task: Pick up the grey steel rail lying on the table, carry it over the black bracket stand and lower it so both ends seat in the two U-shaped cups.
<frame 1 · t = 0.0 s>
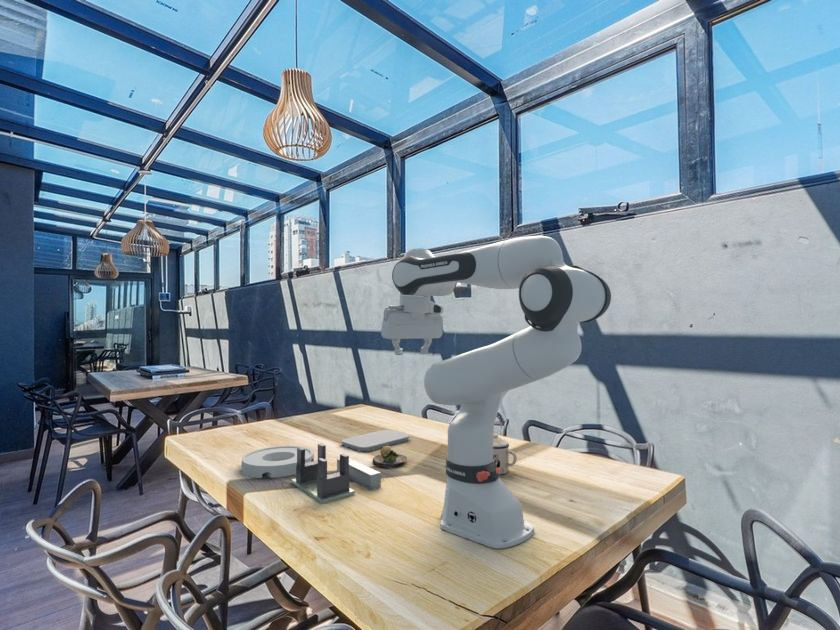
hand: (411, 354, 123), 39 cm above the table, tool pointing down, fingers open, 8 cm apart
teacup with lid: (499, 471, 138), on the table
tablet: (376, 443, 173), on the table
bracket stand: (321, 488, 123), on the table
burger: (389, 464, 147), on the table
ashtray: (278, 467, 144), on the table
rail: (357, 480, 131), on the table
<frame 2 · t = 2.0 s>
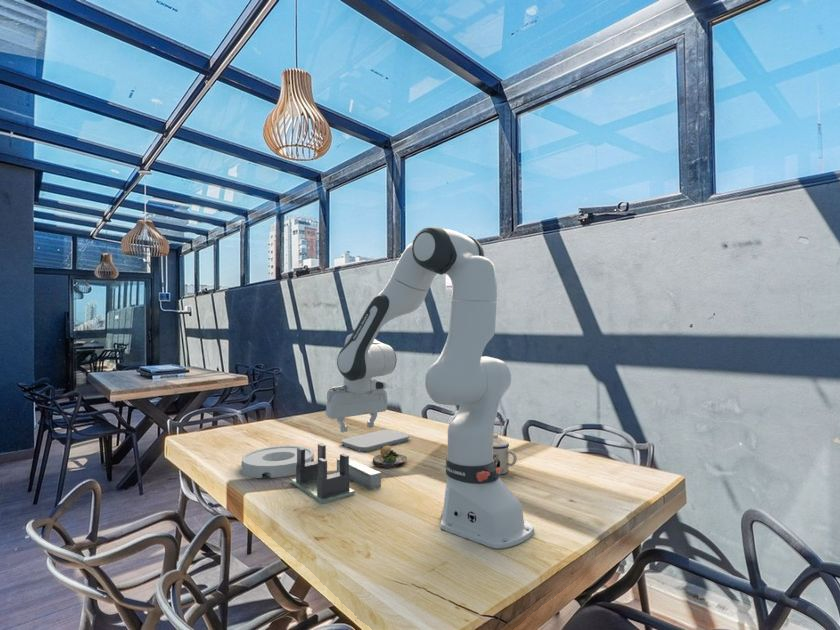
hand: (357, 429, 132), 15 cm above the table, tool pointing down, fingers open, 8 cm apart
nothing on the table moved.
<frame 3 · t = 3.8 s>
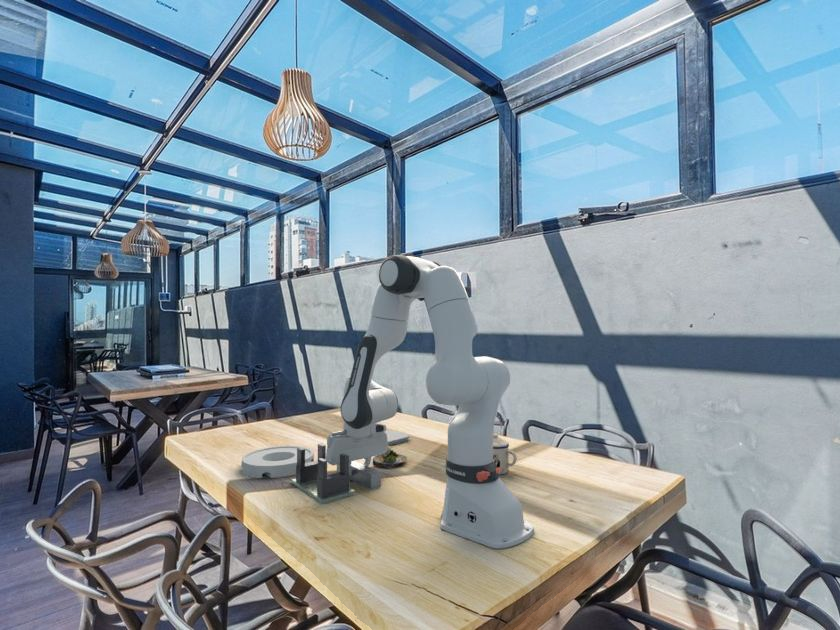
hand: (357, 473, 131), 2 cm above the table, tool pointing down, fingers closed on rail, 3 cm apart
rail: (357, 480, 131), on the table, touching gripper
everything else where it was.
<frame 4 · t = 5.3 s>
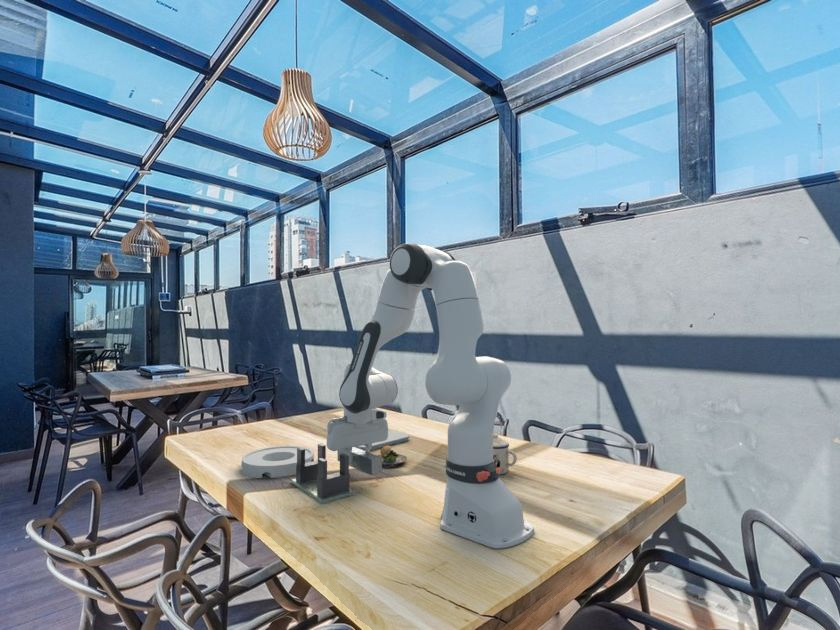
hand: (358, 460, 131), 6 cm above the table, tool pointing down, fingers closed on rail, 3 cm apart
rail: (358, 466, 131), point 4 cm above the table, touching gripper
everything else where it was.
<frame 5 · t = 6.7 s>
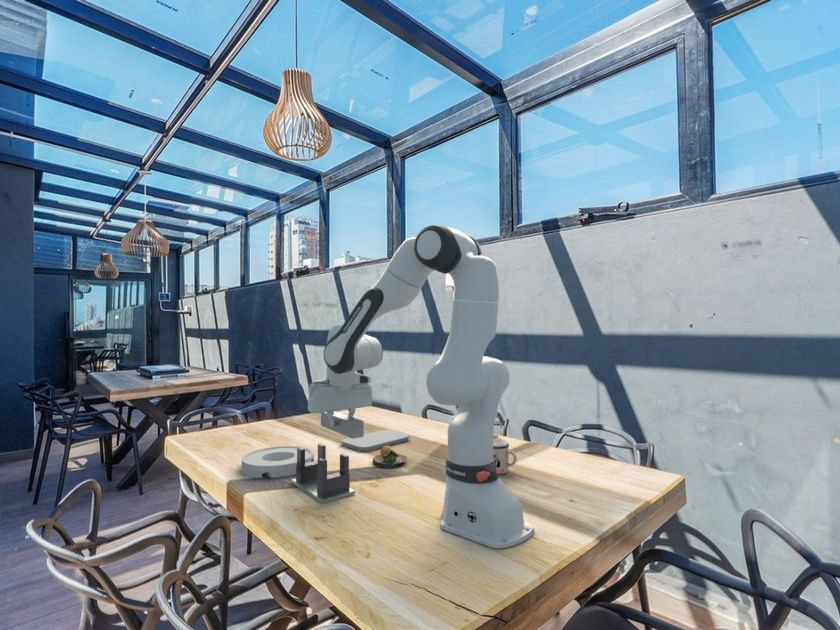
hand: (341, 424, 128), 17 cm above the table, tool pointing down, fingers closed on rail, 3 cm apart
rail: (341, 430, 128), point 15 cm above the table, touching gripper
everything else where it was.
when the fingers open (8 cm above the table, at t = 9.2 s): rail stays where it is, resting on bracket stand.
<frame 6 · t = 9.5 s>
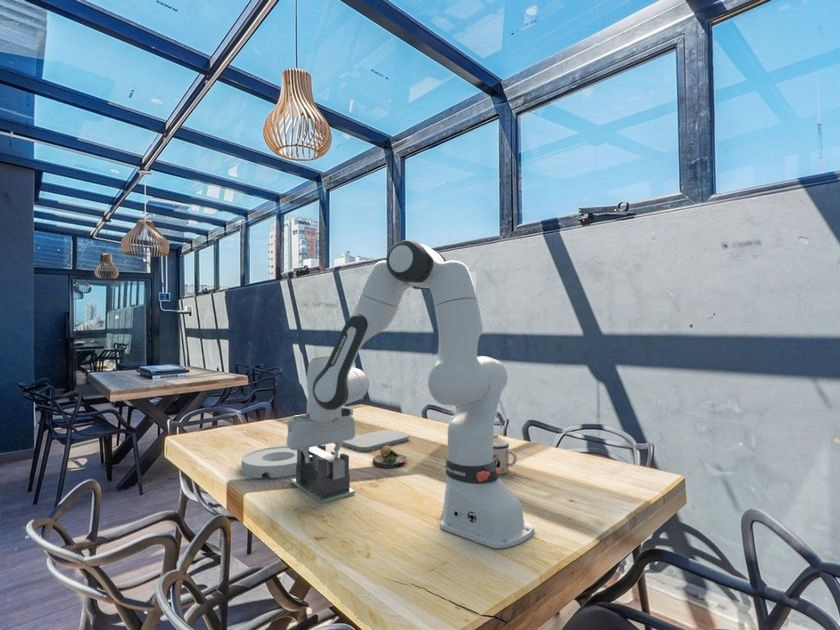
hand: (322, 459, 124), 8 cm above the table, tool pointing down, fingers open, 7 cm apart
rail: (322, 469, 124), point 5 cm above the table, touching bracket stand
everything else where it was.
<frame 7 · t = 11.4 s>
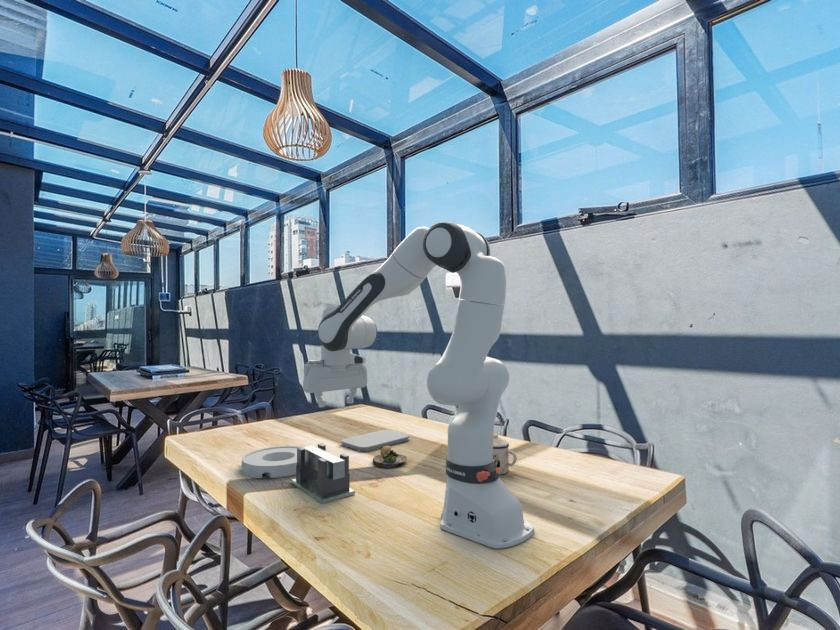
hand: (336, 405, 128), 23 cm above the table, tool pointing down, fingers open, 8 cm apart
nothing on the table moved.
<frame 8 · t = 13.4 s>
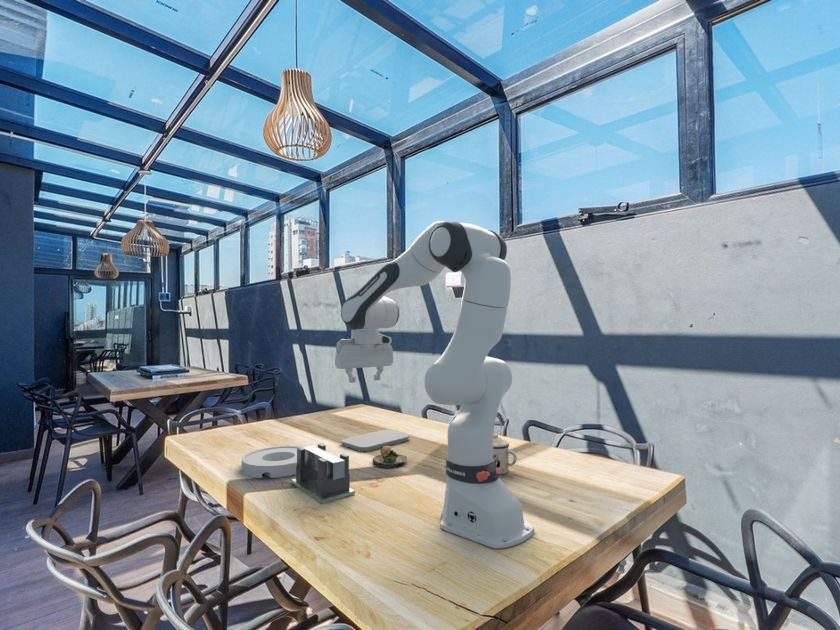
hand: (364, 381, 138), 29 cm above the table, tool pointing down, fingers open, 8 cm apart
nothing on the table moved.
at the end: rail 0.0 cm off-centre on the bracket stand, point 5.5 cm above the bracket stand's base; rail tilted 0°; the gripper is holding nothing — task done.
